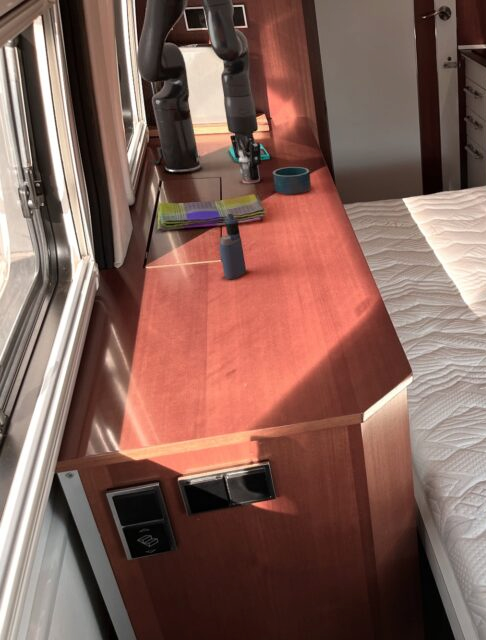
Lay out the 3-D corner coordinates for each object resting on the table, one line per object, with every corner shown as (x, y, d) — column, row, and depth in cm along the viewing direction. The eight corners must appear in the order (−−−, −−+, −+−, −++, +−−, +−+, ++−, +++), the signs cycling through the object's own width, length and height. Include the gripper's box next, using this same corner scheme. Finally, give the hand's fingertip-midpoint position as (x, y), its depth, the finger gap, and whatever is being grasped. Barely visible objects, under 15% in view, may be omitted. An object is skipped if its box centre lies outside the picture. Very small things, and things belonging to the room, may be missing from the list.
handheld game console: (262, 147, 254) (261, 142, 254) (270, 159, 242) (270, 154, 241) (229, 150, 251) (228, 145, 250) (236, 162, 238) (235, 157, 238)
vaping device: (249, 271, 164) (239, 213, 158) (233, 280, 160) (223, 221, 154) (238, 269, 165) (228, 212, 159) (222, 278, 160) (211, 220, 155)
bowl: (269, 189, 214) (266, 170, 212) (301, 183, 219) (299, 165, 217) (285, 197, 208) (282, 178, 206) (317, 191, 213) (315, 172, 211)
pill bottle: (244, 179, 223) (239, 148, 219) (261, 178, 223) (257, 148, 219) (240, 184, 219) (235, 152, 215) (258, 183, 219) (253, 152, 215)
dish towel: (158, 210, 198) (156, 199, 196) (261, 201, 205) (260, 190, 204) (158, 233, 184) (155, 221, 182) (268, 222, 191) (267, 210, 190)
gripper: (266, 115, 209) (275, 180, 218) (242, 106, 219) (252, 169, 227) (238, 119, 205) (248, 185, 214) (215, 110, 215) (226, 174, 223)
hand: (250, 177), depth 220 cm, fingers closed on pill bottle, 4 cm apart
